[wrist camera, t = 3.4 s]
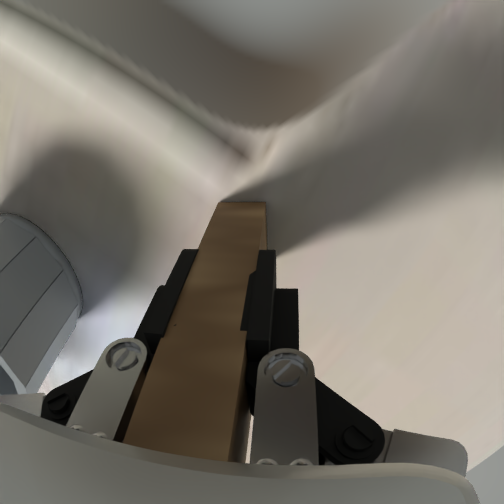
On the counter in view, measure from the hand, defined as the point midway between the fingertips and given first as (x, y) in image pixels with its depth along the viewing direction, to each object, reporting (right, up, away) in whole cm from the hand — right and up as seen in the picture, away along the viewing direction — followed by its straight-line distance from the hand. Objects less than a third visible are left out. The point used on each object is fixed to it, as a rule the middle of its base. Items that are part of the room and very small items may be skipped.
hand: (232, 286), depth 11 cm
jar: (-14, 0, +6) cm, 16 cm away
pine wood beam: (0, +2, +3) cm, 4 cm away
